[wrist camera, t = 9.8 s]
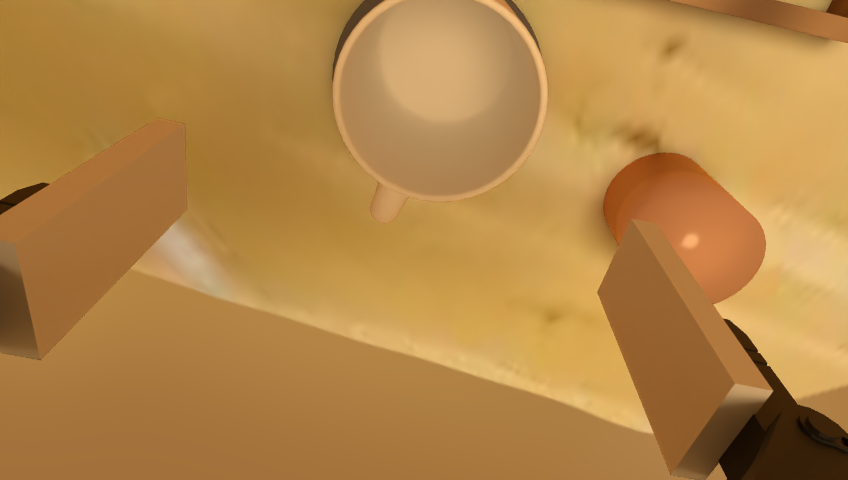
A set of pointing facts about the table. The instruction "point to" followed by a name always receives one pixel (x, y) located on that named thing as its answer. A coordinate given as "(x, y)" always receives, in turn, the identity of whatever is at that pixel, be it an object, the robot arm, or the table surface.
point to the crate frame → (785, 15)
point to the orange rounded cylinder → (689, 220)
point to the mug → (439, 99)
